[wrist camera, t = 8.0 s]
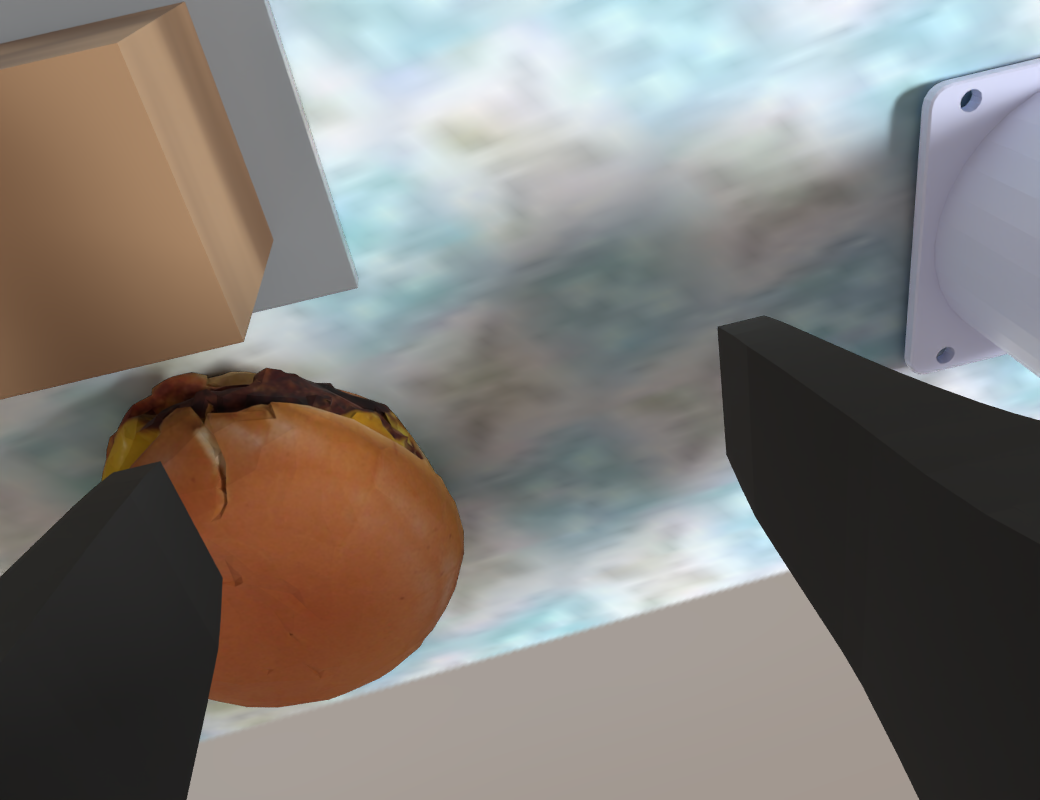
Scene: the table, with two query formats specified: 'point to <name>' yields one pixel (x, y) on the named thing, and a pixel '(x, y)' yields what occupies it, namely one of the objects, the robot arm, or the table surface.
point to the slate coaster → (244, 131)
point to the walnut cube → (119, 203)
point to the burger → (302, 527)
